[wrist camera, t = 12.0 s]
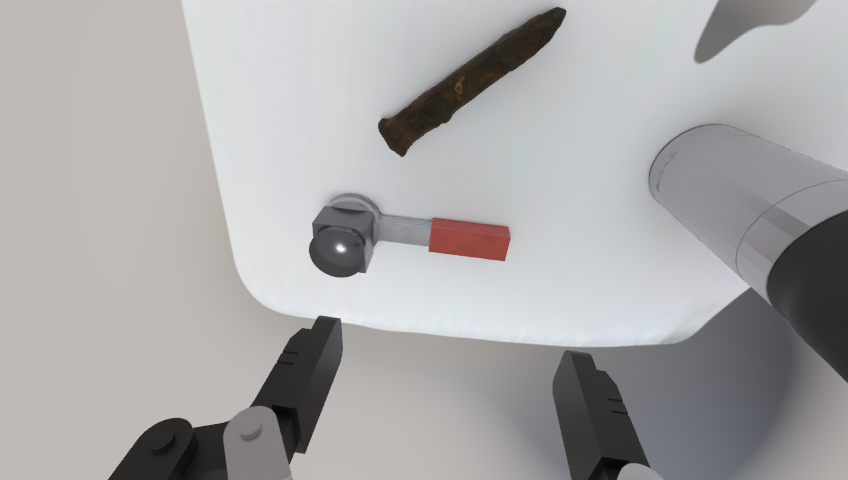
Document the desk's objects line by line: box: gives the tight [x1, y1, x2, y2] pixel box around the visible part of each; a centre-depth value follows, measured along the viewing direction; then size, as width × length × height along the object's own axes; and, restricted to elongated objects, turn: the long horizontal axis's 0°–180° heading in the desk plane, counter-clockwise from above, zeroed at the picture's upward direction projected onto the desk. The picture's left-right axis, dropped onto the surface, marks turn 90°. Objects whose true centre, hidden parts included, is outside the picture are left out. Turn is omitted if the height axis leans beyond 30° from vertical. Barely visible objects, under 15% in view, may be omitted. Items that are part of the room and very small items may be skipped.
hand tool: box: [378, 7, 566, 157], centre depth 33 cm, size 19×4×5 cm, turn 124°
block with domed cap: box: [309, 206, 374, 277], centre depth 39 cm, size 6×6×5 cm
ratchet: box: [328, 194, 510, 261], centre depth 41 cm, size 22×7×6 cm, turn 85°
